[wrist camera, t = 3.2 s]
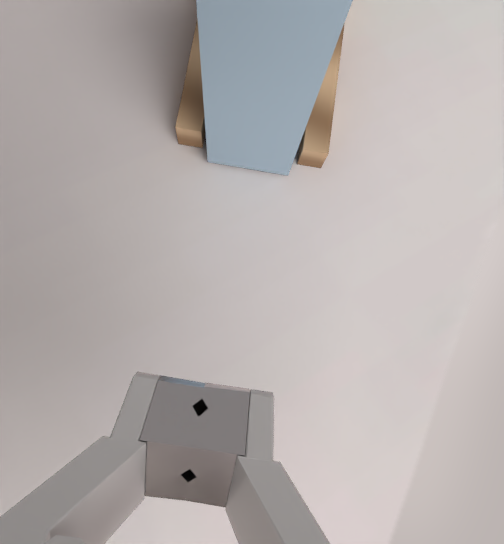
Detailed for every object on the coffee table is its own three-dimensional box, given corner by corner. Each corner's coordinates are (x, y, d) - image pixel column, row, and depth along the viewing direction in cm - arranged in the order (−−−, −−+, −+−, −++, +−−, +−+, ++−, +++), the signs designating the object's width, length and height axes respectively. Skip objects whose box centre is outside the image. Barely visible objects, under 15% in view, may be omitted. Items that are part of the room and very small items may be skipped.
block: (288, 175, 27) (357, -14, 13) (207, 161, 27) (193, -45, 13) (298, 103, 28) (372, -144, 14) (220, 89, 28) (220, -174, 14)
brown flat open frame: (320, 168, 27) (332, 145, 24) (178, 143, 27) (173, 117, 24) (349, -60, 31) (362, -103, 28) (223, -84, 31) (224, -131, 28)
